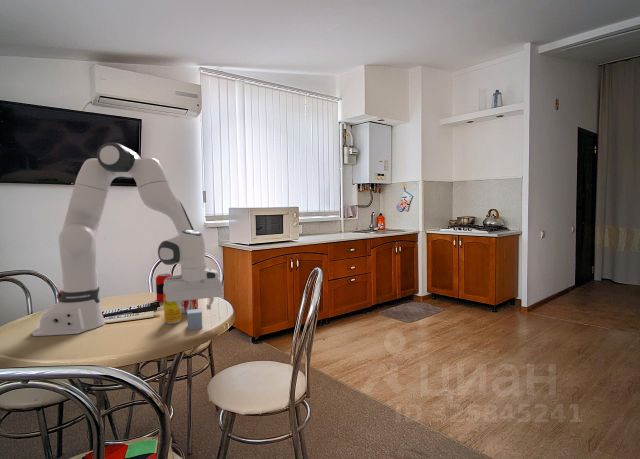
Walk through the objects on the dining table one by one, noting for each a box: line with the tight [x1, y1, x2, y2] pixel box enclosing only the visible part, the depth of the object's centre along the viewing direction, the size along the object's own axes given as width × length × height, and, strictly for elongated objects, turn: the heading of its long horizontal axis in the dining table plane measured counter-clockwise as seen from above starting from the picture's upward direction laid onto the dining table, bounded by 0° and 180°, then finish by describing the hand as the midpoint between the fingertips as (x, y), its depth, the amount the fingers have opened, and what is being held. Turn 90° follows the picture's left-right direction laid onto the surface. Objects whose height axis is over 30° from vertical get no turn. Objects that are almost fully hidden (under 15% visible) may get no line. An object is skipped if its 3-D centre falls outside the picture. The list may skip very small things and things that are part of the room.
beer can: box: [163, 287, 182, 325], centre depth 146 cm, size 6×6×15 cm
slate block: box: [186, 308, 203, 331], centre depth 140 cm, size 5×5×6 cm
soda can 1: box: [155, 273, 173, 303], centre depth 179 cm, size 8×8×12 cm
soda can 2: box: [181, 299, 199, 314], centre depth 159 cm, size 7×7×12 cm
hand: (195, 310), depth 140 cm, fingers open, 8 cm apart
